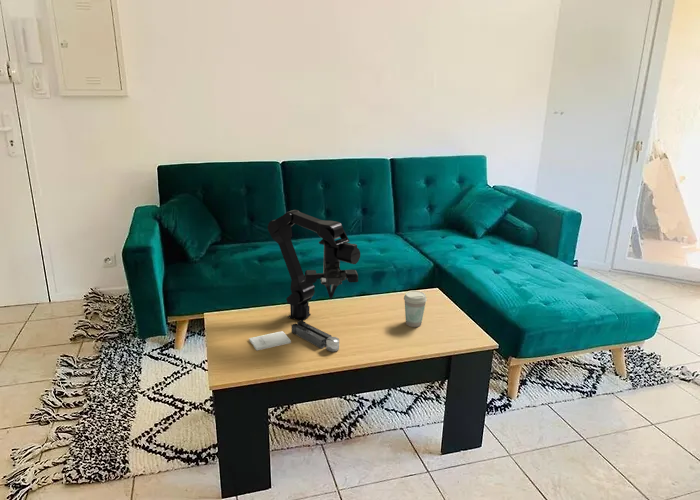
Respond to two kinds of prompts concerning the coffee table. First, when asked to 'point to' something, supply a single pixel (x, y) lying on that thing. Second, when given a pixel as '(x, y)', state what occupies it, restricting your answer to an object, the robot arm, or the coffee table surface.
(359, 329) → the coffee table surface
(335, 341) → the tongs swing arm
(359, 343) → the coffee table surface
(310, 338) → the tongs fixed arm
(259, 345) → the external hard drive
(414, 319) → the coffee cup
